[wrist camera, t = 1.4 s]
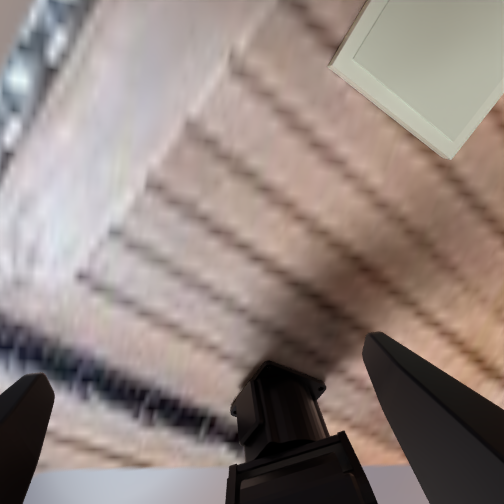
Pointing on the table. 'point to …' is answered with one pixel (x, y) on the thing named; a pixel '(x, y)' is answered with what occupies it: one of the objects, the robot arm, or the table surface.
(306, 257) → the table surface
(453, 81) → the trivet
